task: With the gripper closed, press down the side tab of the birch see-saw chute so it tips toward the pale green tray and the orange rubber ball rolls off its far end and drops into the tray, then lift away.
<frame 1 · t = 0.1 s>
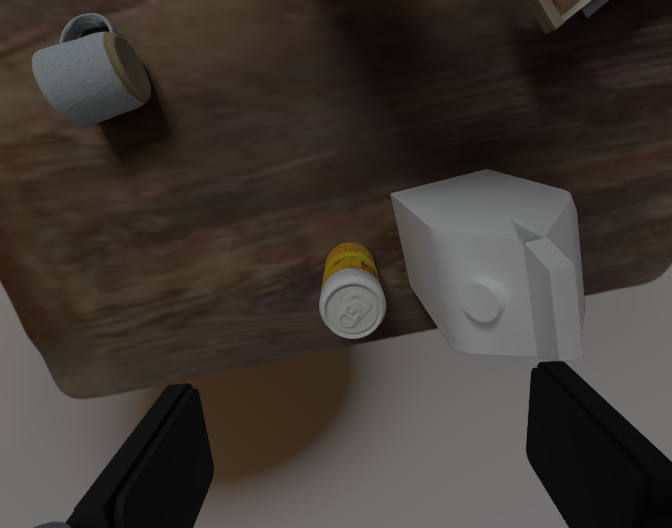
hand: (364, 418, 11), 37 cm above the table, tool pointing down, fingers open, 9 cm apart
ceramic mug: (111, 74, 43), on the table
milk: (446, 229, 47), on the table
beer can: (349, 264, 48), on the table
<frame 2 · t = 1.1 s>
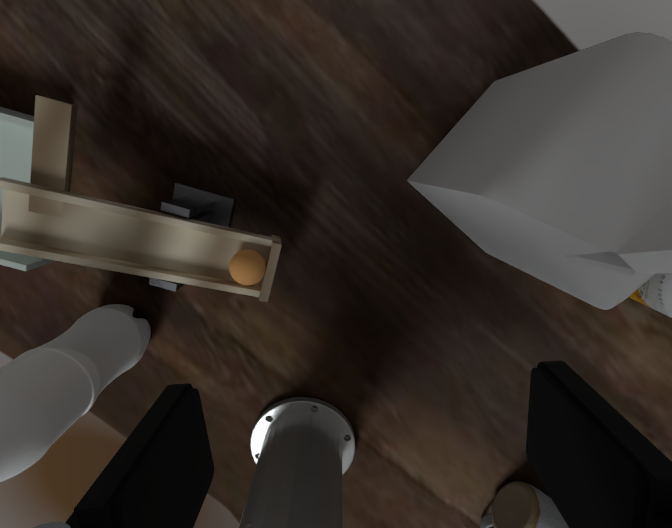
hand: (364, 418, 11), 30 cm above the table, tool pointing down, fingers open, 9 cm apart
fulcrum: (198, 232, 40), on the table
ceramic mug: (515, 505, 49), on the table
tray: (5, 179, 39), on the table
ball: (247, 267, 34), point 7 cm above the table, tilted 29°, touching lever
lever: (153, 206, 32), point 7 cm above the table, hinge at -12.0°, touching ball
milk: (489, 171, 38), on the table
beer can: (582, 241, 40), on the table
water bottle: (127, 326, 43), on the table
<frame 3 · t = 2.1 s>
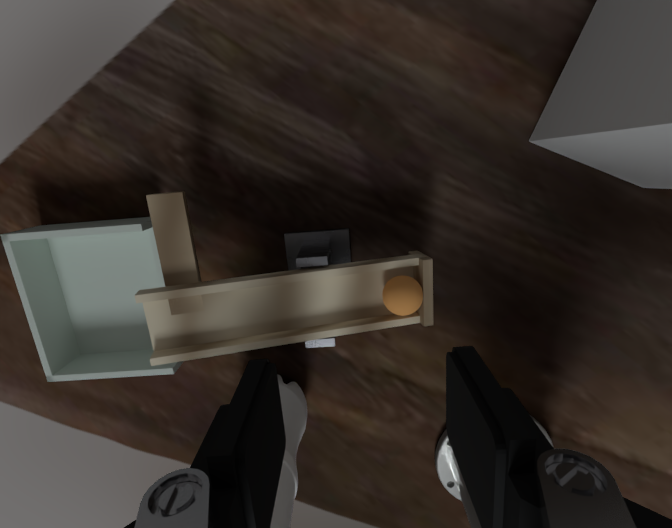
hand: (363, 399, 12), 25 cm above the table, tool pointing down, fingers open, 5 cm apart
fulcrum: (320, 276, 37), on the table
tray: (120, 290, 38), on the table
ball: (402, 295, 30), point 7 cm above the table, tilted 29°, touching lever
lever: (289, 266, 29), point 7 cm above the table, hinge at -12.0°, touching ball
milk: (621, 96, 33), on the table
water bottle: (276, 394, 41), on the table
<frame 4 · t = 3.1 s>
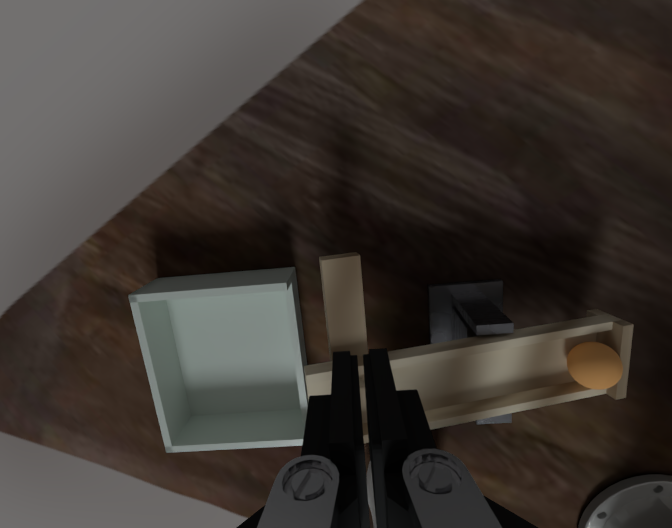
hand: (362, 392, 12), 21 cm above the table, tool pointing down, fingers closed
fulcrum: (464, 331, 33), on the table
tray: (238, 347, 34), on the table
ball: (593, 365, 26), point 7 cm above the table, tilted 29°, touching lever
lever: (469, 334, 25), point 7 cm above the table, hinge at -12.0°, touching ball
water bottle: (402, 458, 37), on the table
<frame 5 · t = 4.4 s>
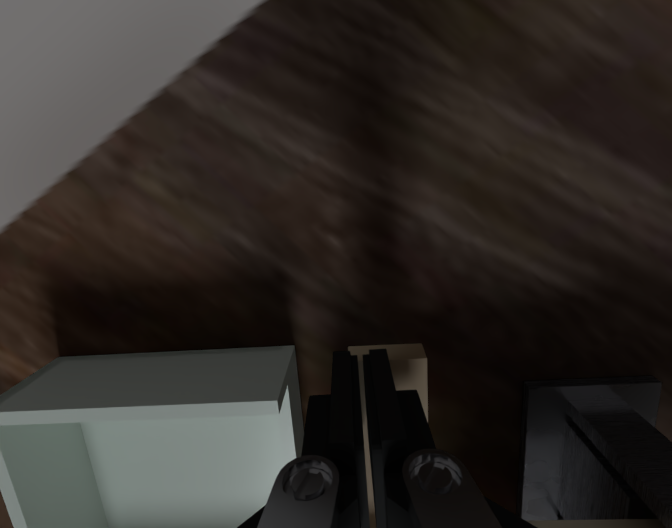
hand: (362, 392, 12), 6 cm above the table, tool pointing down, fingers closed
fulcrum: (579, 456, 20), on the table
tray: (197, 468, 21), on the table
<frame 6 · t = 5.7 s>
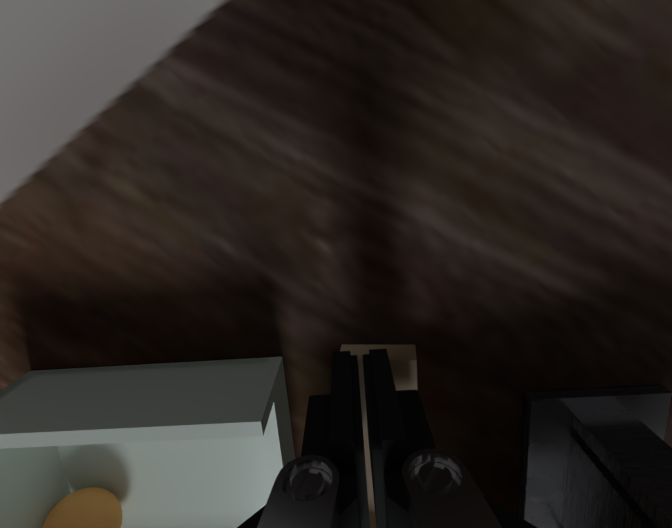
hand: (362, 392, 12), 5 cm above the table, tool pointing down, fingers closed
fulcrum: (583, 469, 19), on the table
tray: (181, 486, 20), on the table
ball: (82, 527, 18), point 2 cm above the table, tilted 19°, touching tray
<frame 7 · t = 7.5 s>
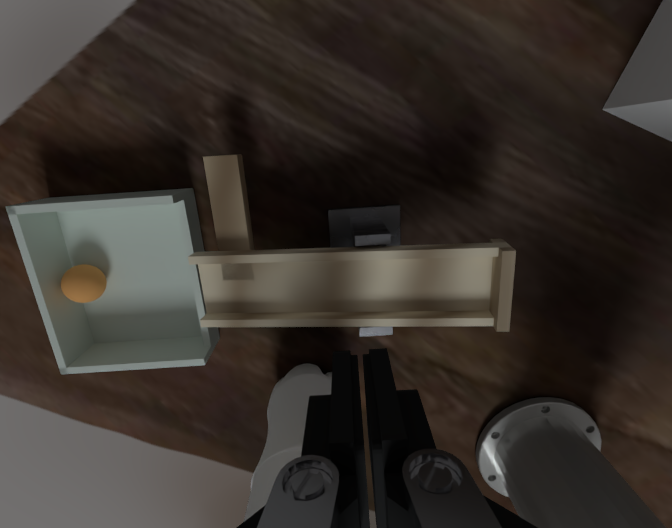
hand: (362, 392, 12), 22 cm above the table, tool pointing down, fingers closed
fulcrum: (365, 257, 34), on the table
tray: (139, 272, 34), on the table
ball: (84, 283, 32), point 2 cm above the table, tilted 15°, touching tray
lever: (341, 242, 26), point 7 cm above the table, hinge at 7.5°
water bottle: (310, 385, 38), on the table
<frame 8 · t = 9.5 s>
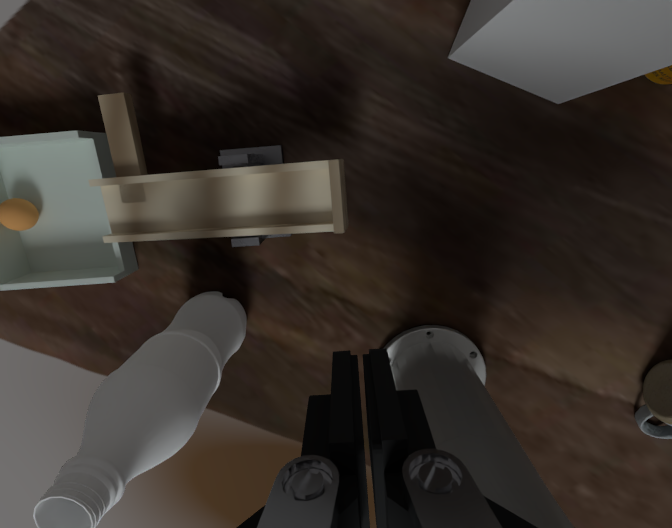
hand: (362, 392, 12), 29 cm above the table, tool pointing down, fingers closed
fulcrum: (257, 193, 39), on the table
ceramic mug: (667, 389, 45), on the table
tray: (67, 208, 40), on the table
ball: (18, 214, 38), point 2 cm above the table, tilted 9°, touching tray
lever: (209, 163, 32), point 7 cm above the table, hinge at 7.5°
milk: (533, 13, 35), on the table
beer can: (663, 50, 35), on the table
water bottle: (220, 314, 43), on the table
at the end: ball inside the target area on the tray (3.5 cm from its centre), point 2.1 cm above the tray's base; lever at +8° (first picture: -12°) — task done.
